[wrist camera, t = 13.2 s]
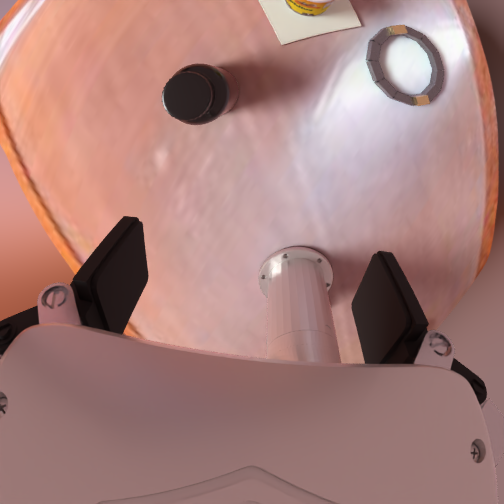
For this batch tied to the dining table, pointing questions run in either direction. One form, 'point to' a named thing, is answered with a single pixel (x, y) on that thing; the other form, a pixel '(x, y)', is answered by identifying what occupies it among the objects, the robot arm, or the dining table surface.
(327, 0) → the supplement bottle
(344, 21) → the coaster
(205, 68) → the supplement bottle
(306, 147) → the dining table surface
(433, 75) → the collar
